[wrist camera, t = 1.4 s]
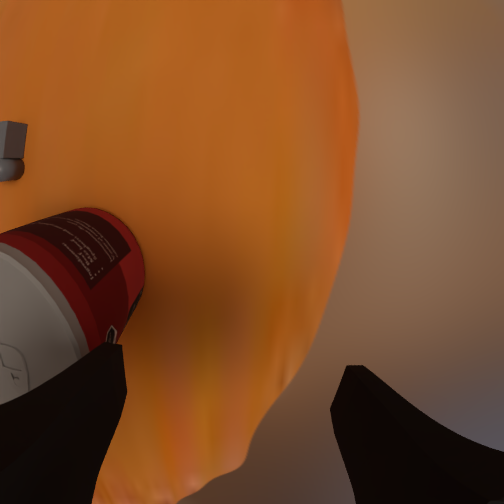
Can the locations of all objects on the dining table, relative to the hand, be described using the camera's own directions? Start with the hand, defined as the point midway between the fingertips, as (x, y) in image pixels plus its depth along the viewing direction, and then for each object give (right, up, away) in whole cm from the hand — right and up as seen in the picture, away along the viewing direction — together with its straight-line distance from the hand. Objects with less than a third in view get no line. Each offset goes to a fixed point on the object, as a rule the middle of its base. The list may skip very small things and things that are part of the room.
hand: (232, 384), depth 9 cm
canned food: (-10, +3, +10) cm, 14 cm away
